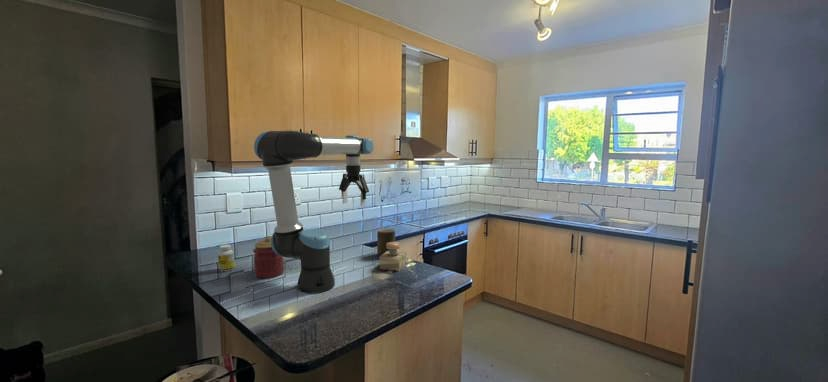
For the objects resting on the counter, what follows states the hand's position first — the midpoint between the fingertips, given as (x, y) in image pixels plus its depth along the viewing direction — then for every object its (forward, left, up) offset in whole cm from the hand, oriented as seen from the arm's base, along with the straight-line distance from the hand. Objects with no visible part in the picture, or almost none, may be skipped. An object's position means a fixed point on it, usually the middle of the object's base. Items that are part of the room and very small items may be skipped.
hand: (353, 204), depth 187 cm
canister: (-39, +24, -27) cm, 53 cm away
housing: (-13, -27, -27) cm, 41 cm away
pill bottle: (-41, +47, -27) cm, 68 cm away
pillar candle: (+3, -17, -27) cm, 33 cm away
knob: (-13, -27, -23) cm, 38 cm away
